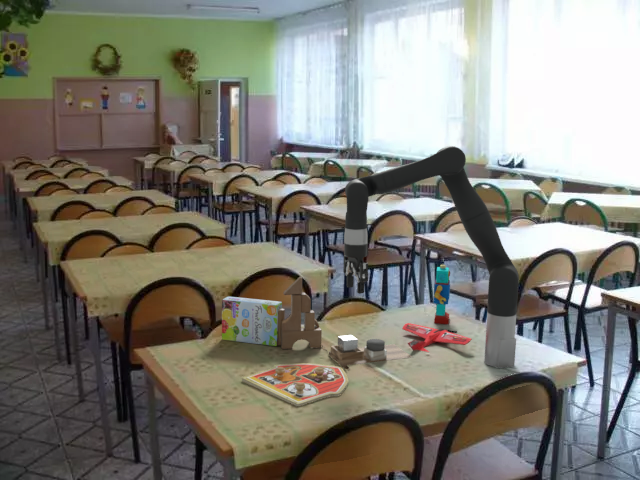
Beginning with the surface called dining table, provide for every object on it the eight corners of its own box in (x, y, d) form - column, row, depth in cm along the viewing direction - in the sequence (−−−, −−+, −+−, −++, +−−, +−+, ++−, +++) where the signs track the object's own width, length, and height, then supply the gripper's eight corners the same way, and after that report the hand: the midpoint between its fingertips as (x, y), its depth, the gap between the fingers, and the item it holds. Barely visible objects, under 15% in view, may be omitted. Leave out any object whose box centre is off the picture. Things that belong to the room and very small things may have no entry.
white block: (357, 356, 248) (357, 339, 246) (343, 358, 246) (343, 340, 245) (351, 351, 252) (351, 334, 251) (337, 353, 250) (337, 336, 249)
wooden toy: (318, 341, 265) (319, 273, 261) (321, 347, 259) (322, 277, 254) (274, 343, 263) (275, 273, 258) (276, 349, 256) (277, 278, 252)
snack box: (282, 342, 264) (282, 301, 261) (276, 347, 259) (277, 305, 256) (227, 335, 271) (227, 295, 268) (221, 340, 265) (220, 299, 263)
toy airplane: (481, 345, 266) (482, 331, 265) (447, 366, 244) (448, 351, 243) (414, 330, 281) (414, 318, 280) (377, 349, 259) (377, 335, 258)
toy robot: (448, 325, 287) (451, 262, 283) (432, 324, 288) (435, 261, 284) (449, 317, 298) (452, 256, 294) (433, 316, 299) (436, 255, 295)
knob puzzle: (238, 381, 229) (238, 367, 228) (308, 359, 249) (308, 346, 248) (303, 411, 208) (303, 396, 207) (373, 384, 228) (374, 370, 228)
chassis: (412, 360, 248) (413, 348, 247) (344, 368, 239) (345, 356, 239) (394, 347, 261) (394, 335, 260) (328, 354, 252) (329, 342, 251)
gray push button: (387, 358, 246) (387, 343, 245) (370, 360, 243) (371, 345, 242) (379, 352, 251) (379, 338, 250) (363, 354, 249) (363, 340, 248)
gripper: (375, 244, 238) (375, 294, 241) (357, 237, 251) (356, 284, 254) (354, 246, 235) (353, 296, 238) (336, 238, 248) (336, 286, 251)
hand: (355, 290), depth 246 cm, fingers open, 8 cm apart
